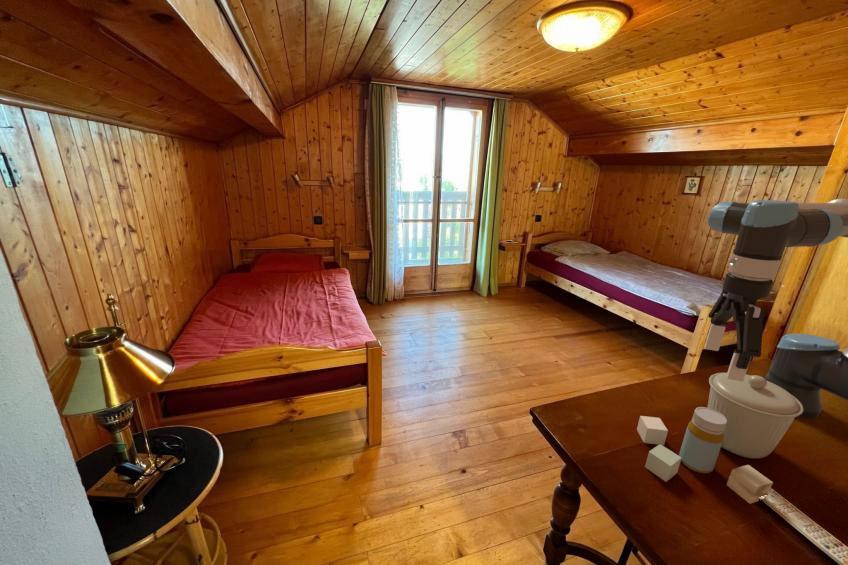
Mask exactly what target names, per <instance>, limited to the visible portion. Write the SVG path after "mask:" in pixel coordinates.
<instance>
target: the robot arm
mask: <svg viewBox="0 0 848 565" xmlns="http://www.w3.org/2000/svg"><path fill="white" fill-rule="evenodd" d="M707 224H708V226H709V228H710V229H711V230H713V231H715V232H720V233H722V234H729V235H730V234H731V235H735V236H737V238H736V242H735V246H734V248H733V251H732V255H731V257H730V258H728V259H727V262H728V263H729V265H728V268H727V271H728V273H725V278H724V280H723V285H722V290H721V293H720V295H719V297H718V298H717V300H716V302H715V303H714V305H713V307H712V308H711V310H710V311H709V313H708V318H709V319H710V320H709V321H710V325H709V330H708V332H707V336H706V340H705V343H704V347H703V348H704V349H705V350H709V351H715V352H718V351H719V350H720V347H721V344H722V340H723V337H724V335H725V331H726V326H728V321H729V320H730V319H732V322H734V323H735V324H736V326H735V327H736V328H735V330H736V344H737V349H733V355H732V358H731V360H730V363H729V367H728V370H727V372H726V373H727V375H726V378H727V379H731V380H736V381H742V382H743V380H744V377H745V375H746V374H747V371H748V369H749V366H750V363H751V360H752V357H753V358H754V357H755V358H761V355H762V346H763V345H762V344H763V343H762V342H763V328H764V326H763V325H764V318H765V314H766V308H765V307H758V300H761V299H766V298H768V297H769V296H770V293H771V290H772V287H773V285H774V281H773V279H774V278H777V275H778V271H779V268H780V266H781V262H782V258H783V255H784V252H785V249H786V248H799V247H801V248H802V247H807V248H811V247H816V246H822V245H823V246H824V245H826V244H830V243H831V242H833V241H835V240H836V239H837V238H838V237H841V238H848V198H837V199H832V200H829V201H827V202H794V201H790V200H789V201H787V200H773V199H767V200H766V199H756V200H752V201H751V202H737V201H722V202H719V203H717V204H716V205H714V206H713V207H712V208H711V210H710V211H709V214H708V218H707ZM840 349H841V346H840V343H838V342H837V341H836V340H833V339H830V338H828V337H822V336H819V335H813V334H807V333H788V334H785V335H783V336H782V337H781V338H780V341H779V342H778V344H777V345H776V350H775V353H774V355H773V359H772V362H771V364H770V367H769V370H768V372H767V374H766V375H765V376H764V377H763V378H764V379H765V380H766V381H769V382H771V383H773V384H776V385H778V386H779V387H781V388H783V389H784V390H786V391H787V392H789V393H790V394H791V395H793V396H794V397H795V398H796V399H797V400H799V402H800V403H801V404H802V406H803V413H802V414H801V415H799V416H797V417H796V418H800V419H816V418H819V417H820V414H821V412H822V410H823V408H822V407H823V406H822V401H821V398H822V397H821V390H824V391H825V392H828V393H831V394H833V395H835V396H837V397H839V398H841V399H842V400H845V401H846V402H848V347H847V348H843V350H842V351H841V350H840Z"/></svg>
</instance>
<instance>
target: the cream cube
mask: <svg viewBox="0 0 848 565" xmlns="http://www.w3.org/2000/svg"><path fill="white" fill-rule="evenodd" d="M636 430H637V431H636V432H637V433H638V434H639V436H640V438H641V440H642V442H643V444H650V445H657V446H658V445H659V444H661V445H662V446H665V444H666V443H665V442H666V439H667V435H668V432H669V430H668V429H667V427H666V426H665V424H664V422H663V420H662V419H661V417H654V416H646V415H645V416H644V415H640V416H639V420H638V424H637V427H636Z"/></svg>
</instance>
